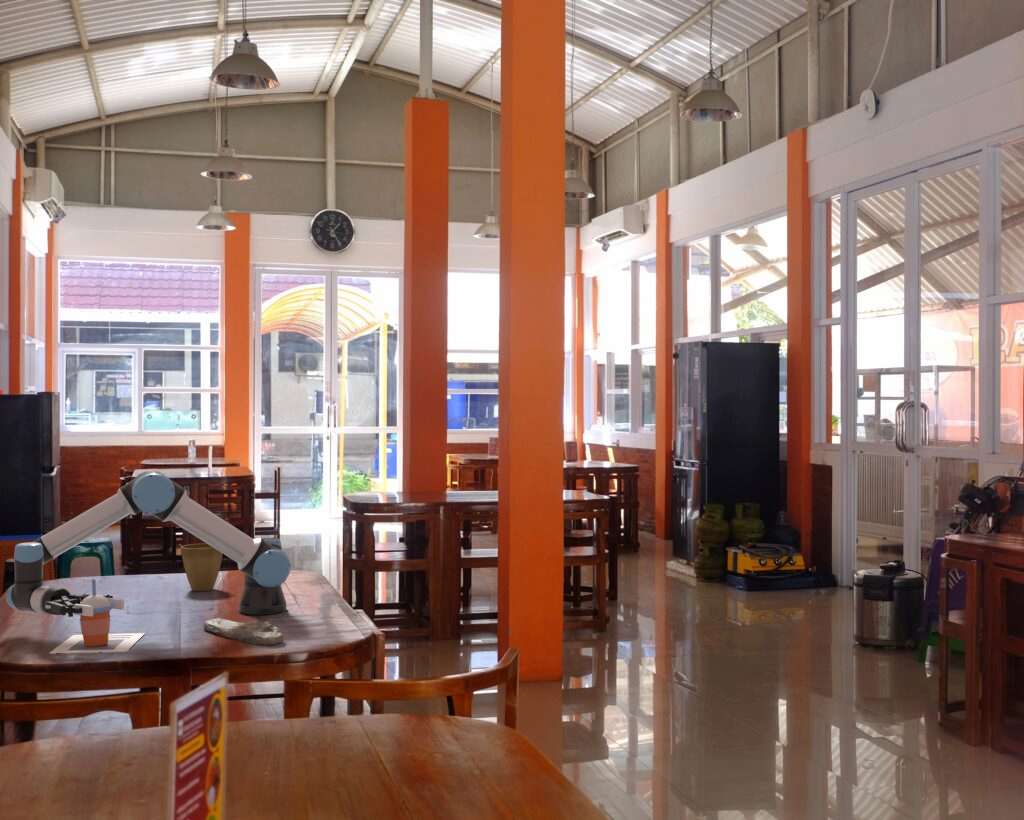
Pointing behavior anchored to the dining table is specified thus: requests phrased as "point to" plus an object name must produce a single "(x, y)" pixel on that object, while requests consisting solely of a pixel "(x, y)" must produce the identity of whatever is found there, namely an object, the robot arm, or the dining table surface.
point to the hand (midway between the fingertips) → (107, 607)
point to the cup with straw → (96, 619)
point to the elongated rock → (246, 631)
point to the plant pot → (201, 565)
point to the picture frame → (114, 645)
